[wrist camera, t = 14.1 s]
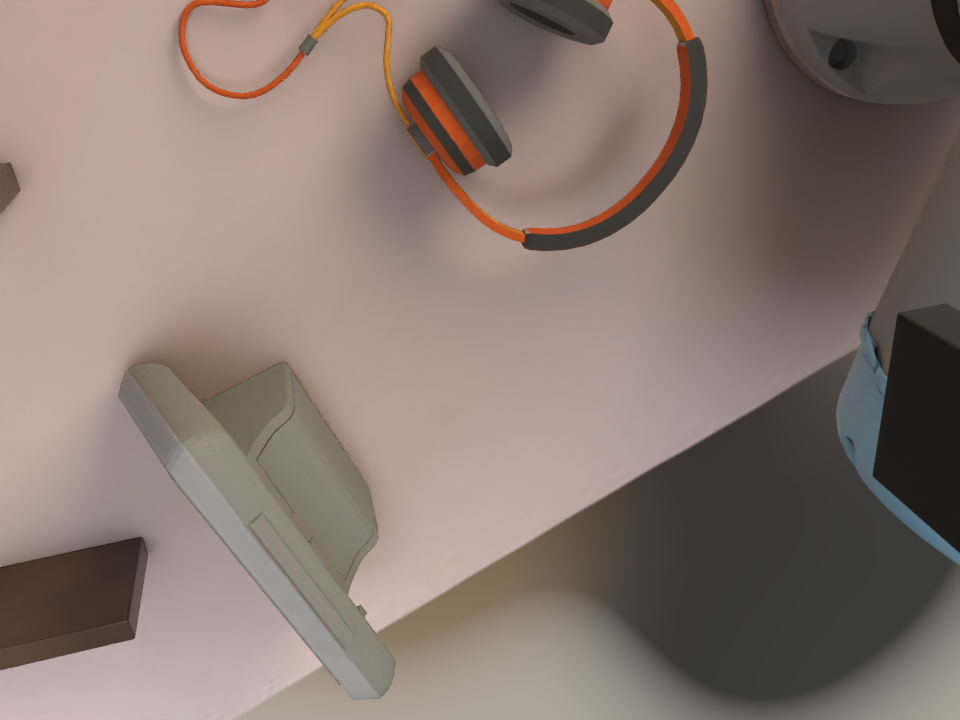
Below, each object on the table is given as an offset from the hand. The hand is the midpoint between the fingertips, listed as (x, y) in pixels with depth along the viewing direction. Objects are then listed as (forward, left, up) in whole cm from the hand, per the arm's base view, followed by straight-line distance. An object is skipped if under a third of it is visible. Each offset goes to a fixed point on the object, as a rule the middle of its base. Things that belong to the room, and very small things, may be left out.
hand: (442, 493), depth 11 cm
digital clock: (+6, +17, -29) cm, 34 cm away
